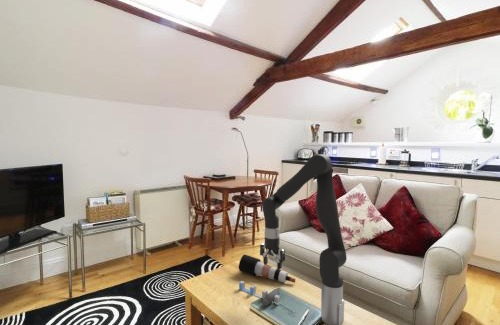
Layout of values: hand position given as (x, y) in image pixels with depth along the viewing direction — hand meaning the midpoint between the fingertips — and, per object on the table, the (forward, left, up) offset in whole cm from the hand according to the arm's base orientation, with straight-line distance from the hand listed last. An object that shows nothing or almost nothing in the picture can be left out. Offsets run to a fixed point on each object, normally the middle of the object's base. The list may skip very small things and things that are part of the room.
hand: (272, 266), depth 138 cm
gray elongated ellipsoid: (-1, +3, -17) cm, 17 cm away
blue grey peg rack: (+7, +3, -17) cm, 18 cm away
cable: (+14, -16, -17) cm, 27 cm away
